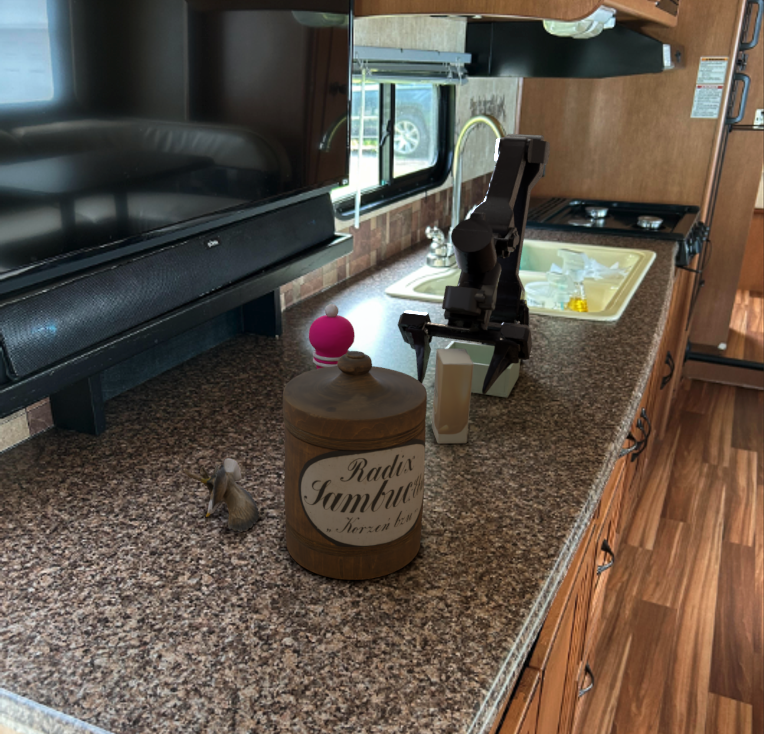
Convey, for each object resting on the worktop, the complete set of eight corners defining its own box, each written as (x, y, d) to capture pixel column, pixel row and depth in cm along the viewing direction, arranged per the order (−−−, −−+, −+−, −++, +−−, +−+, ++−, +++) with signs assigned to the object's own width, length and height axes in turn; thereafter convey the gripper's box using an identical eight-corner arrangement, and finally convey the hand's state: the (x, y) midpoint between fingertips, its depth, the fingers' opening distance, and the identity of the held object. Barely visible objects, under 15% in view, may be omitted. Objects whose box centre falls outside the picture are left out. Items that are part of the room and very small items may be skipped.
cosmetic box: (430, 425, 113) (435, 347, 108) (459, 425, 114) (465, 347, 109) (437, 445, 108) (442, 362, 103) (467, 444, 108) (474, 362, 103)
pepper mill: (365, 437, 109) (367, 300, 101) (346, 459, 103) (347, 314, 95) (318, 429, 111) (317, 294, 103) (297, 450, 105) (294, 308, 97)
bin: (434, 386, 128) (436, 358, 126) (450, 367, 137) (452, 340, 135) (507, 397, 124) (510, 368, 122) (518, 376, 133) (521, 349, 131)
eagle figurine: (169, 501, 90) (199, 522, 82) (192, 444, 90) (225, 460, 83) (224, 518, 94) (258, 539, 87) (246, 463, 95) (282, 480, 88)
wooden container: (312, 595, 76) (309, 388, 67) (269, 521, 88) (262, 338, 79) (444, 563, 82) (458, 368, 73) (387, 497, 94) (392, 324, 85)
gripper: (404, 254, 108) (375, 352, 103) (537, 267, 102) (513, 372, 97) (418, 296, 118) (392, 387, 113) (540, 310, 112) (519, 407, 107)
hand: (451, 388), depth 107 cm, fingers open, 9 cm apart
